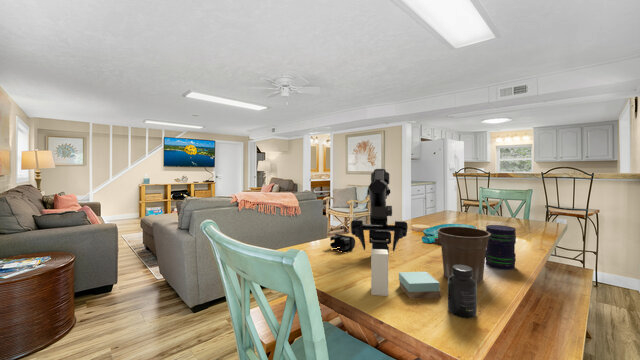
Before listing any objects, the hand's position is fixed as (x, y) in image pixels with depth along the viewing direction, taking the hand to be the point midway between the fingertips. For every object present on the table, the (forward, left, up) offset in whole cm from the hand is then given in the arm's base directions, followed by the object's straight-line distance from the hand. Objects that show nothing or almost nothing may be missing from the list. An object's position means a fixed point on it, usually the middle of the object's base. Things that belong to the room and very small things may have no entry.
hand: (379, 250), depth 91 cm
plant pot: (+30, +9, -12) cm, 33 cm away
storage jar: (+49, +22, -12) cm, 55 cm away
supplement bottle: (+20, -16, -12) cm, 28 cm away
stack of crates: (+37, +53, -12) cm, 66 cm away
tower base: (+12, -4, -12) cm, 17 cm away
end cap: (-12, +40, -12) cm, 44 cm away
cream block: (0, -5, -11) cm, 13 cm away
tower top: (+11, -4, -10) cm, 15 cm away
